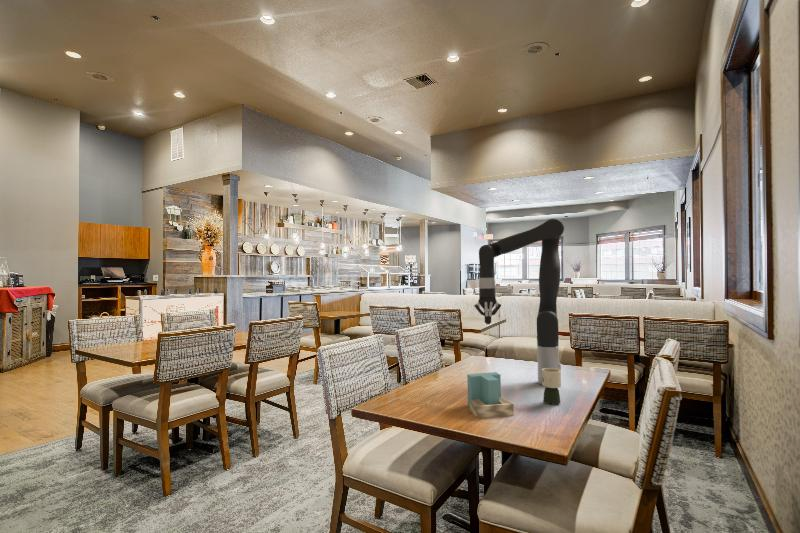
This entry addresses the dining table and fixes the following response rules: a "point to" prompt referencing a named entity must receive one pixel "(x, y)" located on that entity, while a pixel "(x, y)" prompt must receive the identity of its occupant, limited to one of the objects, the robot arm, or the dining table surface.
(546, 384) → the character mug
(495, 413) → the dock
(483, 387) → the t block
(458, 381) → the dining table surface
